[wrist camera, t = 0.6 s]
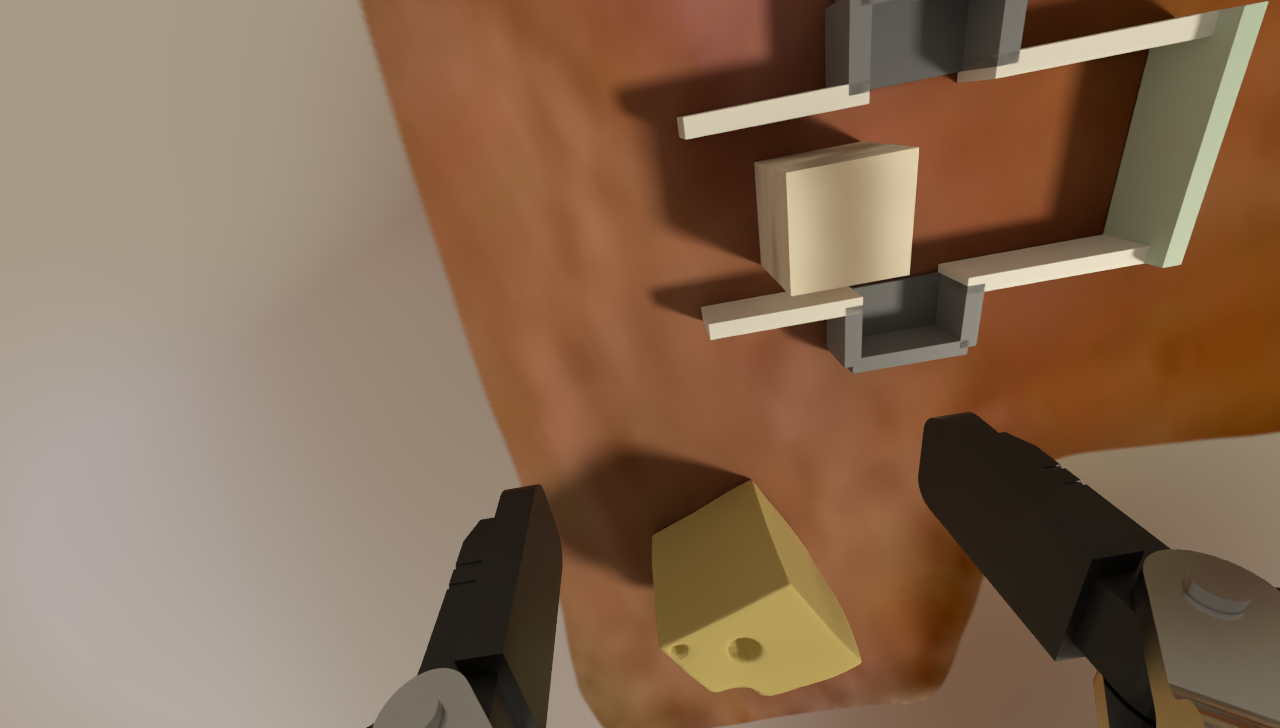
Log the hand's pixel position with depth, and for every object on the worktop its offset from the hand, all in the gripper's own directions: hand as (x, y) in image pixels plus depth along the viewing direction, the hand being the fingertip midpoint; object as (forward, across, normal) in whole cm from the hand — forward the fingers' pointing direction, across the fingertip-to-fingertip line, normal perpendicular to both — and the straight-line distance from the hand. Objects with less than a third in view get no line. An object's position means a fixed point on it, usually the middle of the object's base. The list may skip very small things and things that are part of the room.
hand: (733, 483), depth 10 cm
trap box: (+21, -15, -1) cm, 26 cm away
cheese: (+22, -3, +25) cm, 34 cm away
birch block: (+21, -10, -1) cm, 23 cm away
